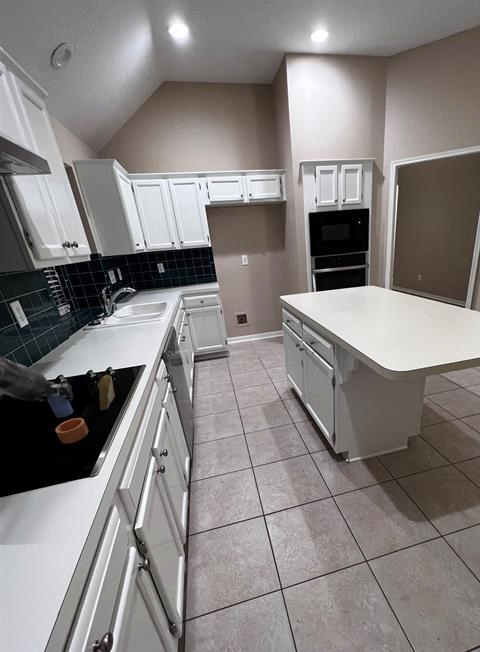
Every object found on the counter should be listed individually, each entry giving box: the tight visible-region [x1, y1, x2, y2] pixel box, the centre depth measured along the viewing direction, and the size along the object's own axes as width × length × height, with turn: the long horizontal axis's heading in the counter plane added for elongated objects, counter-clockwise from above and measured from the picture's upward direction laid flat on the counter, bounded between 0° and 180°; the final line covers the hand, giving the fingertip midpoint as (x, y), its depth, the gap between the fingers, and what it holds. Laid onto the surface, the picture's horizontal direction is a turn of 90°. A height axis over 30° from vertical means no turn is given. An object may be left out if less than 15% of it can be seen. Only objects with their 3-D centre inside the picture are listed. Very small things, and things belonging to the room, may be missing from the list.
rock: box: [97, 374, 116, 411], centre depth 111 cm, size 11×9×10 cm
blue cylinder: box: [46, 392, 74, 419], centre depth 91 cm, size 4×4×8 cm
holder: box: [55, 417, 89, 445], centre depth 95 cm, size 7×7×4 cm
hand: (62, 398), depth 92 cm, fingers closed on blue cylinder, 4 cm apart
